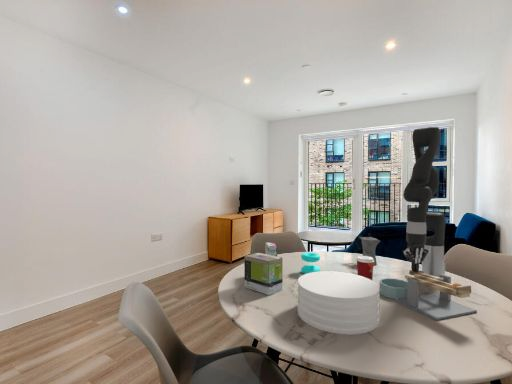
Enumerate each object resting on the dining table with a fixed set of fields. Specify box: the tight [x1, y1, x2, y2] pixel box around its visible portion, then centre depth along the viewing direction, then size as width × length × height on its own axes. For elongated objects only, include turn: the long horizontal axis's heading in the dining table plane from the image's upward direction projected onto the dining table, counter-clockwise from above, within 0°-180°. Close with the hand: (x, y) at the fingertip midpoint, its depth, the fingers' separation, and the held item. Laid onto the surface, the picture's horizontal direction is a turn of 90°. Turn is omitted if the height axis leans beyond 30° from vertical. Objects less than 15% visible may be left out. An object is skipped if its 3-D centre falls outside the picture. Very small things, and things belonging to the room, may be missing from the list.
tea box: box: [243, 252, 284, 296], centre depth 125 cm, size 15×10×15 cm
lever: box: [404, 269, 472, 299], centre depth 107 cm, size 30×16×4 cm, turn 18°
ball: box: [452, 282, 463, 290], centre depth 94 cm, size 3×3×3 cm
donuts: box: [300, 252, 321, 275], centre depth 148 cm, size 10×10×10 cm
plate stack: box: [297, 270, 380, 335], centre depth 100 cm, size 28×28×12 cm
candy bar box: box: [264, 241, 278, 256], centre depth 143 cm, size 11×5×16 cm, turn 5°
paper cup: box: [355, 255, 374, 281], centre depth 125 cm, size 8×8×14 cm
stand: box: [396, 274, 478, 322], centre depth 106 cm, size 17×20×10 cm
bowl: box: [378, 277, 408, 300], centre depth 119 cm, size 12×12×5 cm
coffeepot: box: [354, 233, 381, 267], centre depth 167 cm, size 15×9×18 cm, turn 44°
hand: (415, 271), depth 121 cm, fingers closed
